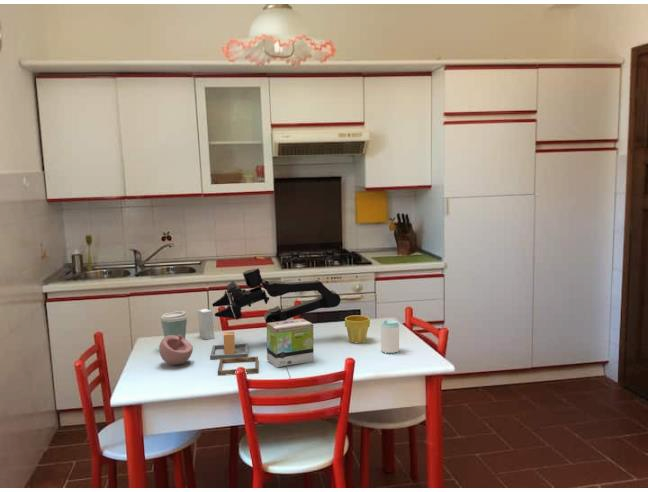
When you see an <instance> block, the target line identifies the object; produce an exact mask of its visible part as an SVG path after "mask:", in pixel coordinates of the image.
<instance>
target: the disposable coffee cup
mask: <svg viewBox="0 0 648 492" xmlns="http://www.w3.org/2000/svg"><path fill="white" fill-rule="evenodd" d="M187 321H188V314H187V312H186V311H184V310H177V311H172V312H167V313H164V314H162V315H161V317H160V323H161V328H162V333H163V338H164V337H166V336H168V335H176V336H178V335H179V334H180V335H182V336H183V338H184V339H186V334H187V333H186V332H187V324H188V323H187Z"/></svg>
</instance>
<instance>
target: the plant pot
mask: <svg viewBox="0 0 648 492" xmlns="http://www.w3.org/2000/svg"><path fill="white" fill-rule="evenodd" d="M370 325H371V318H370V317H368V316H366V315H361V314H360V315H357V314H356V315H349V316H346V317H345V318H344V326H345V328H346V332H347V337H348V342H350V343H351V342H364V341H365V342H366V339H367V335H368V330H369V328H370V327H371V326H370ZM365 342H364V343H365Z"/></svg>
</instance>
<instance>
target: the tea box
mask: <svg viewBox="0 0 648 492" xmlns="http://www.w3.org/2000/svg"><path fill="white" fill-rule="evenodd" d="M266 361H268V362H269V363H270V364H271V365H272V366H274V367H275V368H281V367H284V366H285V367H286V366H292V365H298V364H306V363H312V362H314V323H312V322H310V321H308V320H306V319H304V318H294V319H287V320H286V321H279V322H271V323H267V324H266Z"/></svg>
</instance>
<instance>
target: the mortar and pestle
mask: <svg viewBox="0 0 648 492" xmlns="http://www.w3.org/2000/svg"><path fill="white" fill-rule="evenodd" d="M158 347H159V348H158V349H159V350H158V351H159V355H160V357H161V359H162V360H163V361H164V362H165V363H167V364H168V365H172V366H179V365H182V364H184V363H186V362H187V361H188V360H189V359H190V357H192V353H193V351H194V347H193V345H192V344H191V342H190V341H188V339H186V338H185V339H184V338H183V336H182V335H180V334H179V335H178V336H176V335H168V336H166V337H164V336H163V338H162V340H160V343H159V346H158Z"/></svg>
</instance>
